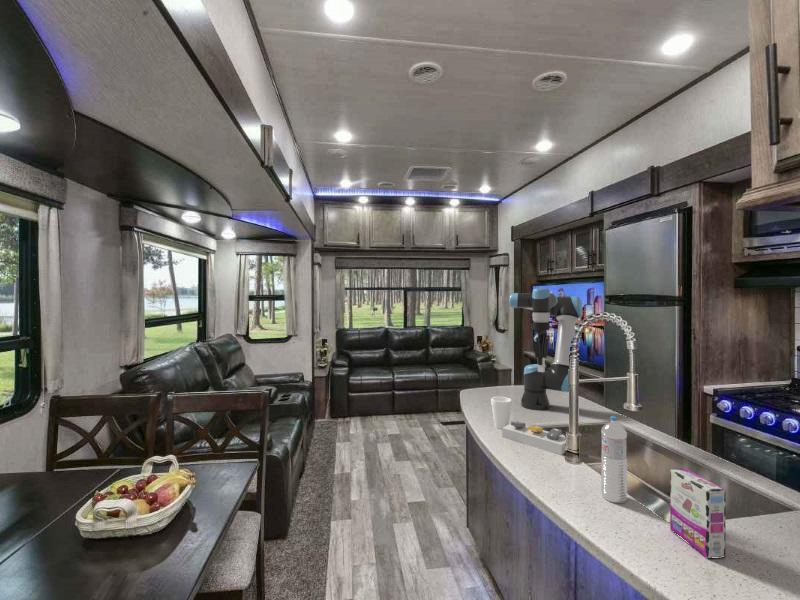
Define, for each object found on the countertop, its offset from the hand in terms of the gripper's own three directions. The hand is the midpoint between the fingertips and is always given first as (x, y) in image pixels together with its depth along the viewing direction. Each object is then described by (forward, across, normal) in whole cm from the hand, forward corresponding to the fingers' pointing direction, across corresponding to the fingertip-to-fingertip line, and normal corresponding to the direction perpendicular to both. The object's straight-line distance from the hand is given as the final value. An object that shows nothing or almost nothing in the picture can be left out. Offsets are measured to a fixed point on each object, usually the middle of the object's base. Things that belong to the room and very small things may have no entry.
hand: (541, 371), depth 173 cm
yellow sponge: (+21, +18, +6) cm, 28 cm away
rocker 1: (+21, +18, -2) cm, 28 cm away
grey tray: (+26, +18, +10) cm, 33 cm away
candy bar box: (+27, +50, +64) cm, 85 cm away
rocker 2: (+21, +18, +14) cm, 31 cm away
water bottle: (+27, +42, +43) cm, 66 cm away
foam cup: (+27, +12, -14) cm, 32 cm away
